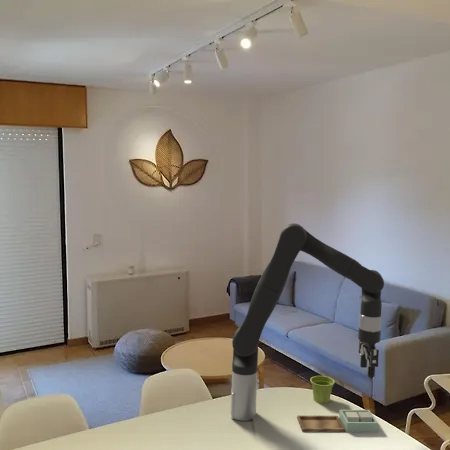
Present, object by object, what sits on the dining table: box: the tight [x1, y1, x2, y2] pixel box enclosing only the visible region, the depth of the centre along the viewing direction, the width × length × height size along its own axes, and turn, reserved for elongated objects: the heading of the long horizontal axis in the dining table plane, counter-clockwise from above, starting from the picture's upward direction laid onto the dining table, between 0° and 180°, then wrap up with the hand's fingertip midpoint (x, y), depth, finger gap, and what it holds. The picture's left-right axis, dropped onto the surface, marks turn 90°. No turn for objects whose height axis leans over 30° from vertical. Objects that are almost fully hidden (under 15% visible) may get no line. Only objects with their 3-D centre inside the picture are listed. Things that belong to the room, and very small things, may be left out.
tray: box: [296, 415, 346, 433], centre depth 183 cm, size 15×10×2 cm, turn 92°
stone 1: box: [345, 412, 359, 422], centre depth 183 cm, size 4×4×4 cm
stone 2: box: [357, 412, 372, 422], centre depth 183 cm, size 4×4×4 cm
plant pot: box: [310, 375, 335, 404], centre depth 203 cm, size 9×9×9 cm
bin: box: [338, 409, 379, 433], centre depth 183 cm, size 11×10×4 cm
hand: (367, 371), depth 182 cm, fingers open, 8 cm apart
